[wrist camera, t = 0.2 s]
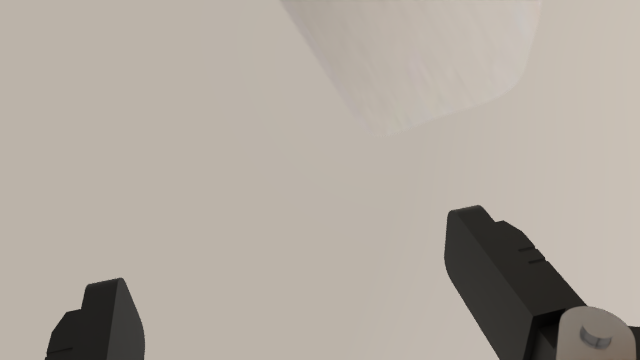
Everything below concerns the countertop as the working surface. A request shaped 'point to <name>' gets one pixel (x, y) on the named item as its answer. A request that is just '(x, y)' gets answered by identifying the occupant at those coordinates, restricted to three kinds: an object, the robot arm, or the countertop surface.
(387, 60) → the countertop surface
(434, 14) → the countertop surface
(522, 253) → the robot arm
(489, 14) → the countertop surface
